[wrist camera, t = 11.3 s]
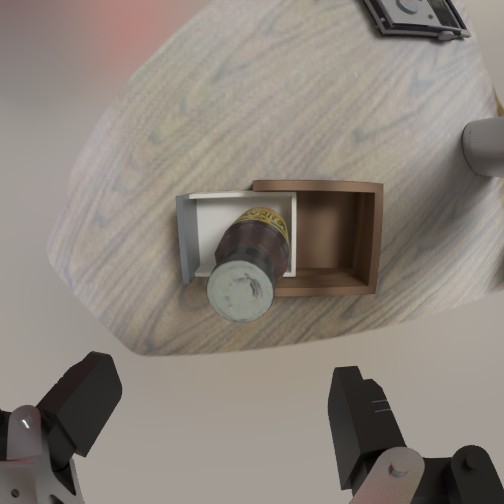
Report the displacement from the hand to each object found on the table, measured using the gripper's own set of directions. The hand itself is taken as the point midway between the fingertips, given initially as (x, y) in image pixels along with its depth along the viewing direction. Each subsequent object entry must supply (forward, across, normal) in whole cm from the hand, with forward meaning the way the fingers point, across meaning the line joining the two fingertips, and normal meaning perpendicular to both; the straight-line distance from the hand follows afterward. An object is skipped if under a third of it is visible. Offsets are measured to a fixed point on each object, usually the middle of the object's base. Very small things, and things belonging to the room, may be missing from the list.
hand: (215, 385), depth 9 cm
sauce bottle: (+28, 0, 0) cm, 28 cm away
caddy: (+30, -7, 0) cm, 30 cm away
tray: (+28, +2, 0) cm, 28 cm away
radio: (+30, -26, -43) cm, 59 cm away
